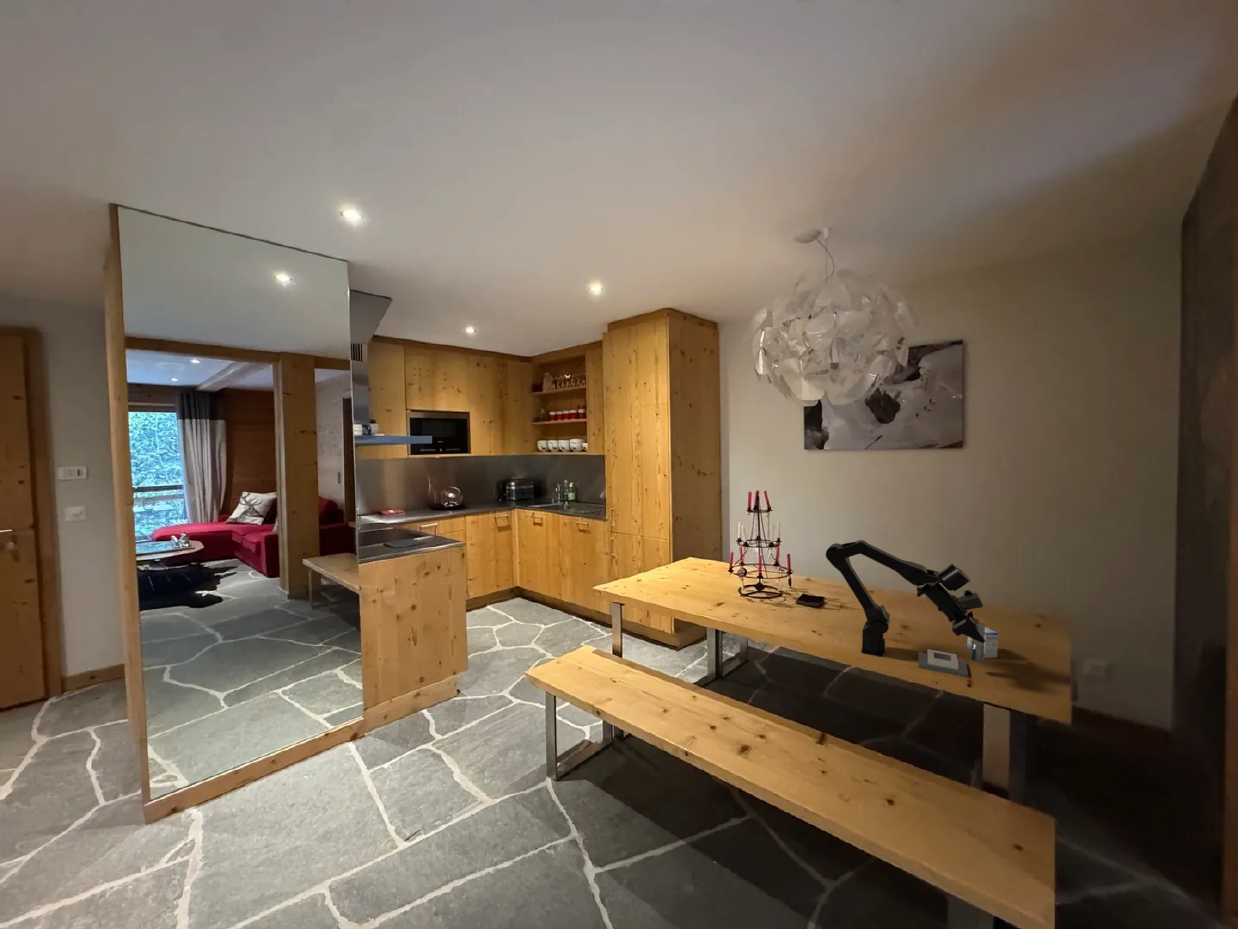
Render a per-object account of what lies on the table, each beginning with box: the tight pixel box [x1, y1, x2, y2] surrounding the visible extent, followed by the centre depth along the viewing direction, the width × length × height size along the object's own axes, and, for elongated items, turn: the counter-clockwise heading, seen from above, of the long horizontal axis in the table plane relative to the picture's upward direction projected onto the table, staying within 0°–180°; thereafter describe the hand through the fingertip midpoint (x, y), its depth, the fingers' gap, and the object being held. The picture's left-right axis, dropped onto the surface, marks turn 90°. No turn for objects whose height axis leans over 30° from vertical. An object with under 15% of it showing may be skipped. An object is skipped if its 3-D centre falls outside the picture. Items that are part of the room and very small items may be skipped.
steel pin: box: [970, 616, 986, 663], centre depth 154 cm, size 3×3×13 cm
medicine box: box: [966, 626, 999, 659], centre depth 168 cm, size 8×4×9 cm, turn 4°
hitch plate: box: [917, 648, 969, 678], centre depth 160 cm, size 13×10×3 cm
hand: (983, 640), depth 154 cm, fingers closed on steel pin, 3 cm apart
